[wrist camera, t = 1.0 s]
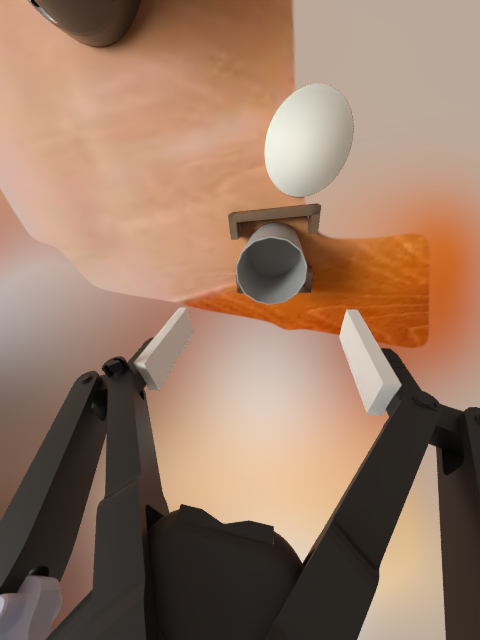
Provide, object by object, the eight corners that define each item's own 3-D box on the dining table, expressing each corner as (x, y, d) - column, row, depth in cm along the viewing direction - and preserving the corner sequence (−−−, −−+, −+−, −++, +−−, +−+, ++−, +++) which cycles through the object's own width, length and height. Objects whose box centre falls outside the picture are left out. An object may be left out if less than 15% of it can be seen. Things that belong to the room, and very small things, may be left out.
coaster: (263, 96, 21) (263, 95, 21) (362, 73, 19) (363, 71, 19) (265, 200, 27) (265, 201, 27) (342, 192, 25) (343, 192, 25)
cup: (296, 214, 27) (302, 227, 19) (303, 269, 31) (310, 297, 23) (241, 231, 30) (226, 248, 22) (254, 279, 34) (246, 308, 26)
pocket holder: (232, 212, 29) (228, 214, 26) (317, 203, 26) (321, 205, 24) (240, 286, 35) (237, 293, 33) (308, 284, 33) (311, 292, 30)
